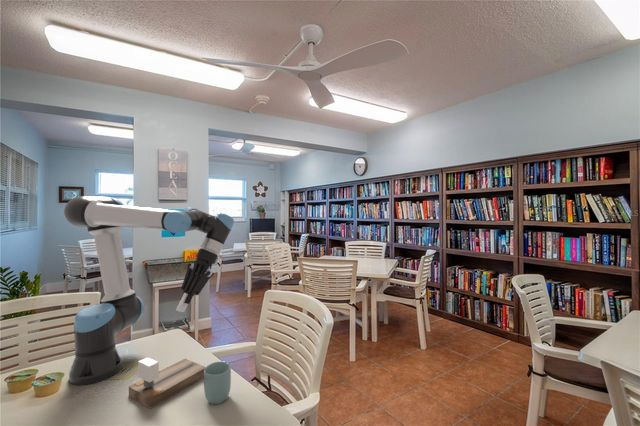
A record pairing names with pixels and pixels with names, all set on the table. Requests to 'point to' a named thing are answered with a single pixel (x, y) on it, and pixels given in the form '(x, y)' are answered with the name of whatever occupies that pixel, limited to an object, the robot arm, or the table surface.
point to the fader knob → (148, 371)
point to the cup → (217, 382)
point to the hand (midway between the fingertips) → (179, 311)
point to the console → (167, 383)
